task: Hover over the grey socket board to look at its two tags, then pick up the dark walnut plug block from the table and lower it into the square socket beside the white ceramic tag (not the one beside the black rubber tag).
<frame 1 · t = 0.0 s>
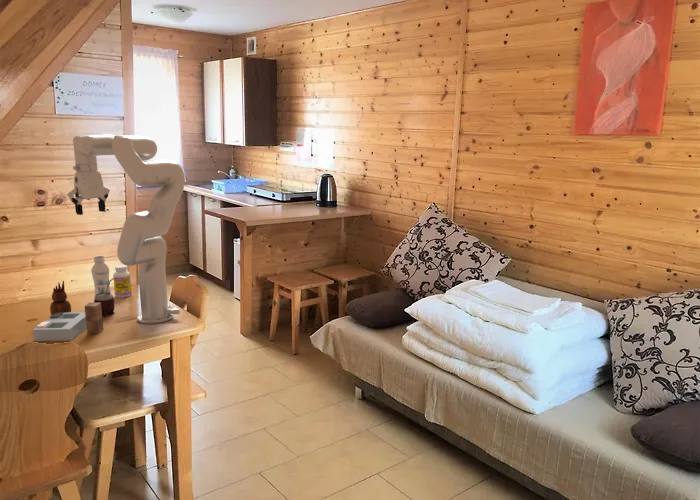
hand: (91, 213, 221), 37 cm above the table, tool pointing down, fingers open, 9 cm apart
plug: (95, 331, 199), on the table
supplement bottle: (123, 296, 241), on the table
wooden figurine: (62, 320, 210), on the table
socket board: (64, 331, 199), on the table
mate gourd: (106, 315, 217), on the table
plastic bottle: (104, 306, 228), on the table
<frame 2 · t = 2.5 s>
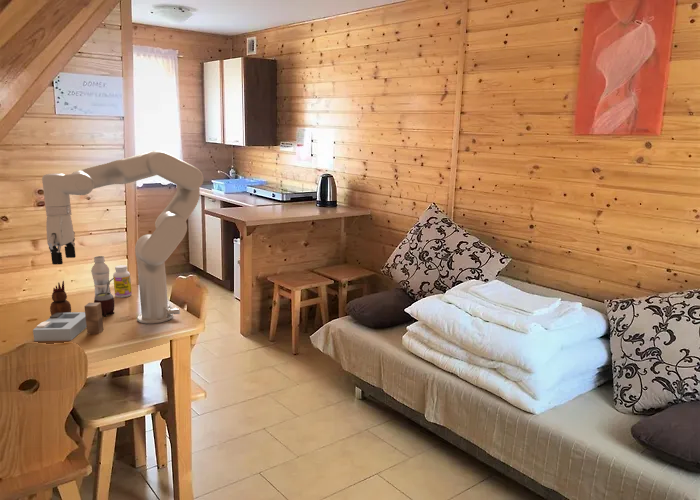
hand: (64, 260, 194), 25 cm above the table, tool pointing down, fingers open, 9 cm apart
nothing on the table moved.
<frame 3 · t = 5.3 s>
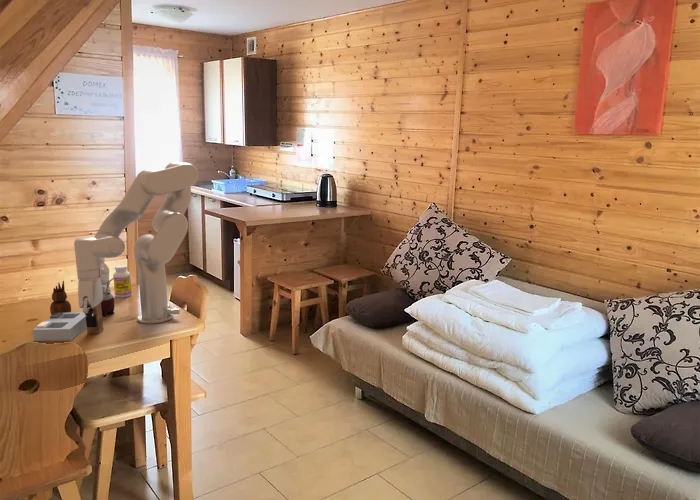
hand: (94, 324, 198), 3 cm above the table, tool pointing down, fingers closed on plug, 4 cm apart
plug: (95, 331, 199), on the table, touching gripper
everything else where it was.
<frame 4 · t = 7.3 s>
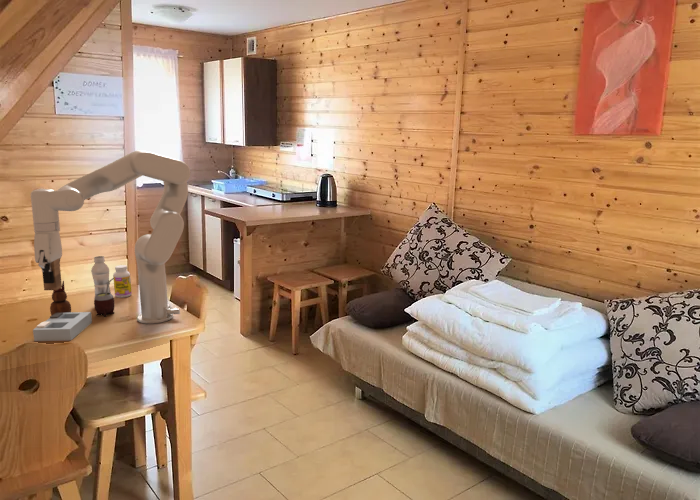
hand: (52, 280, 190), 20 cm above the table, tool pointing down, fingers closed on plug, 4 cm apart
plug: (53, 288, 191), point 17 cm above the table, touching gripper
everything else where it was.
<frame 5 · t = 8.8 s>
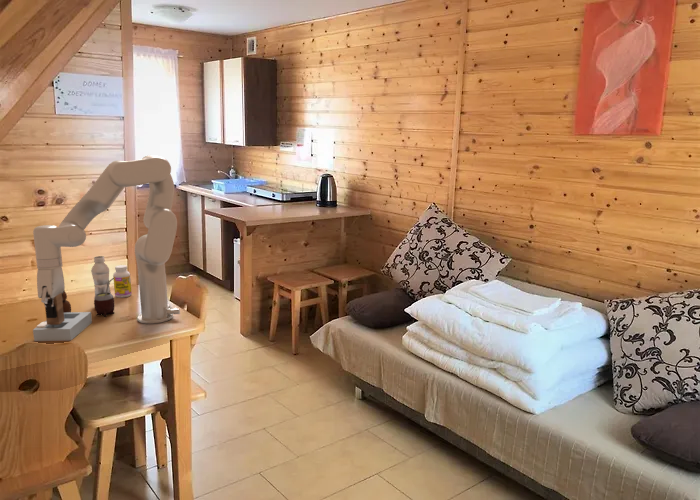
hand: (55, 314, 193), 8 cm above the table, tool pointing down, fingers closed on plug, 4 cm apart
plug: (55, 322, 193), point 5 cm above the table, touching gripper
everything else where it was.
when the fingers open (5 cm above the table, at t = 9.6 s): plug stays where it is, resting on socket board.
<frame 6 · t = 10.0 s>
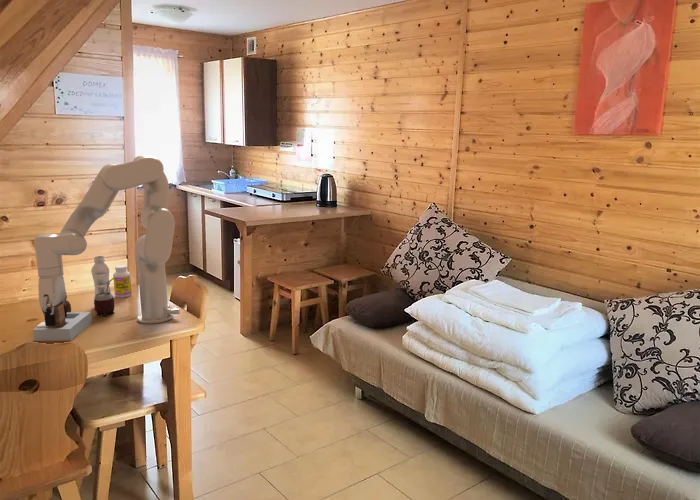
hand: (56, 321, 193), 5 cm above the table, tool pointing down, fingers open, 7 cm apart
plug: (58, 333, 194), point 1 cm above the table, touching socket board
everything else where it was.
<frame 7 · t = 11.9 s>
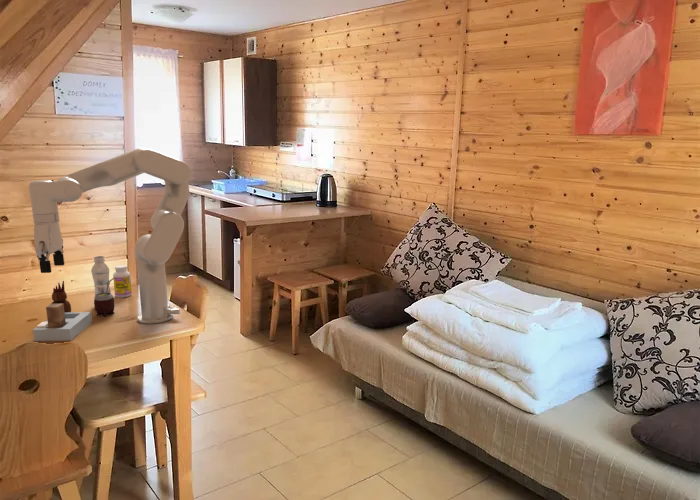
hand: (53, 268, 190), 24 cm above the table, tool pointing down, fingers open, 9 cm apart
nothing on the table moved.
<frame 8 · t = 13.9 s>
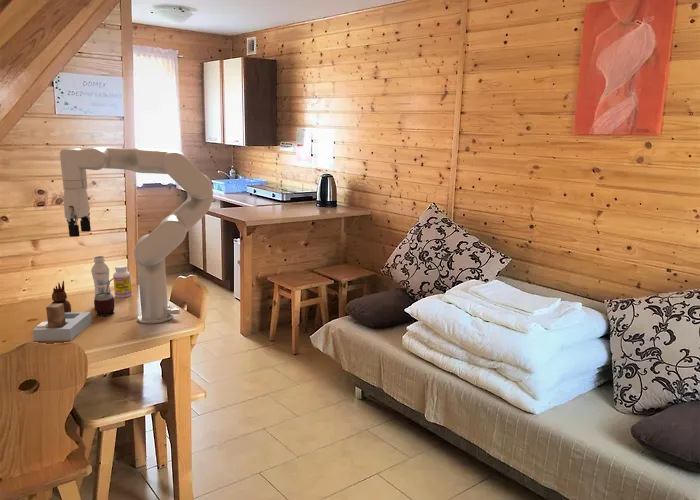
hand: (80, 233, 199), 33 cm above the table, tool pointing down, fingers open, 9 cm apart
nothing on the table moved.
at the end: plug 0.1 cm from the target spot on the socket board, point 1.0 cm above the socket board's base; plug tilted 0°; the gripper is holding nothing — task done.
